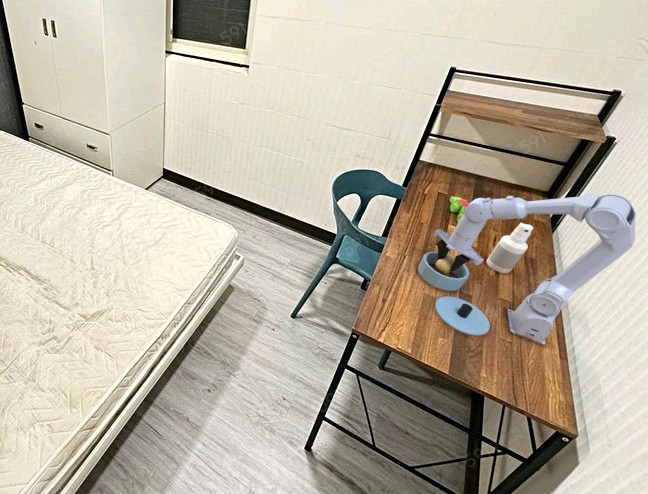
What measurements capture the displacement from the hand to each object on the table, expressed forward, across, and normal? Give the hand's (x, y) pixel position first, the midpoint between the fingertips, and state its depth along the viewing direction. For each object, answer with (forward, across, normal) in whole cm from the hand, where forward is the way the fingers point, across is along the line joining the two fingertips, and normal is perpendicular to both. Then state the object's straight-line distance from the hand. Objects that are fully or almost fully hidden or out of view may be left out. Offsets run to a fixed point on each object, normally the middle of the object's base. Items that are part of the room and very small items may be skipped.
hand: (446, 265), depth 131 cm
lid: (+5, +14, -8) cm, 17 cm away
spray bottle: (+6, +3, +24) cm, 25 cm away
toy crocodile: (+6, -20, +37) cm, 43 cm away
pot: (+5, 0, 0) cm, 5 cm away
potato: (+1, 0, 0) cm, 1 cm away
